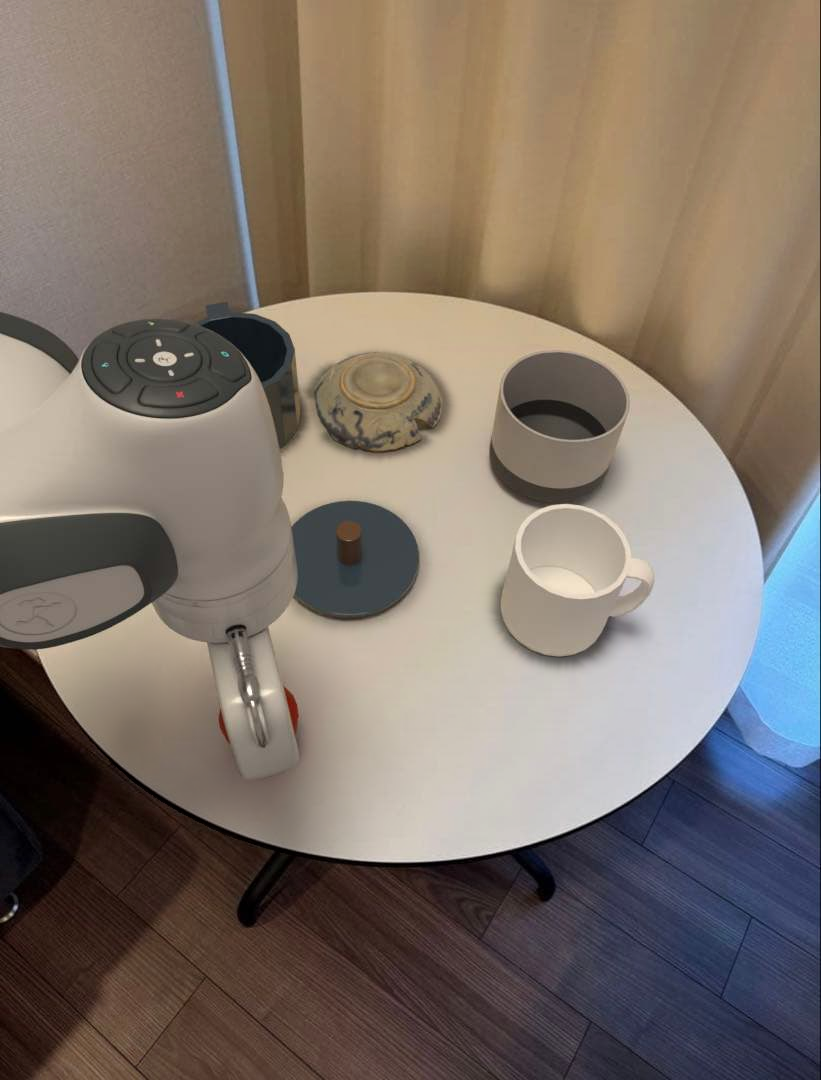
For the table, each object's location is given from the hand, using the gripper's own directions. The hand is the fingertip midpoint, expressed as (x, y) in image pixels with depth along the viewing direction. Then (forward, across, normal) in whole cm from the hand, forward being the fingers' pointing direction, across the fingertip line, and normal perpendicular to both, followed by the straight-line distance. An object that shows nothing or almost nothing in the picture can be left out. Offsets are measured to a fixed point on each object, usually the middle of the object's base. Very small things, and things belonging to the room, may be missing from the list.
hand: (250, 674), depth 61 cm
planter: (+14, +23, -36) cm, 45 cm away
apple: (+14, +1, 0) cm, 14 cm away
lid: (+13, +17, -12) cm, 24 cm away
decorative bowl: (+13, +37, -20) cm, 44 cm away
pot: (+13, +39, -5) cm, 41 cm away
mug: (+14, +5, -30) cm, 33 cm away
